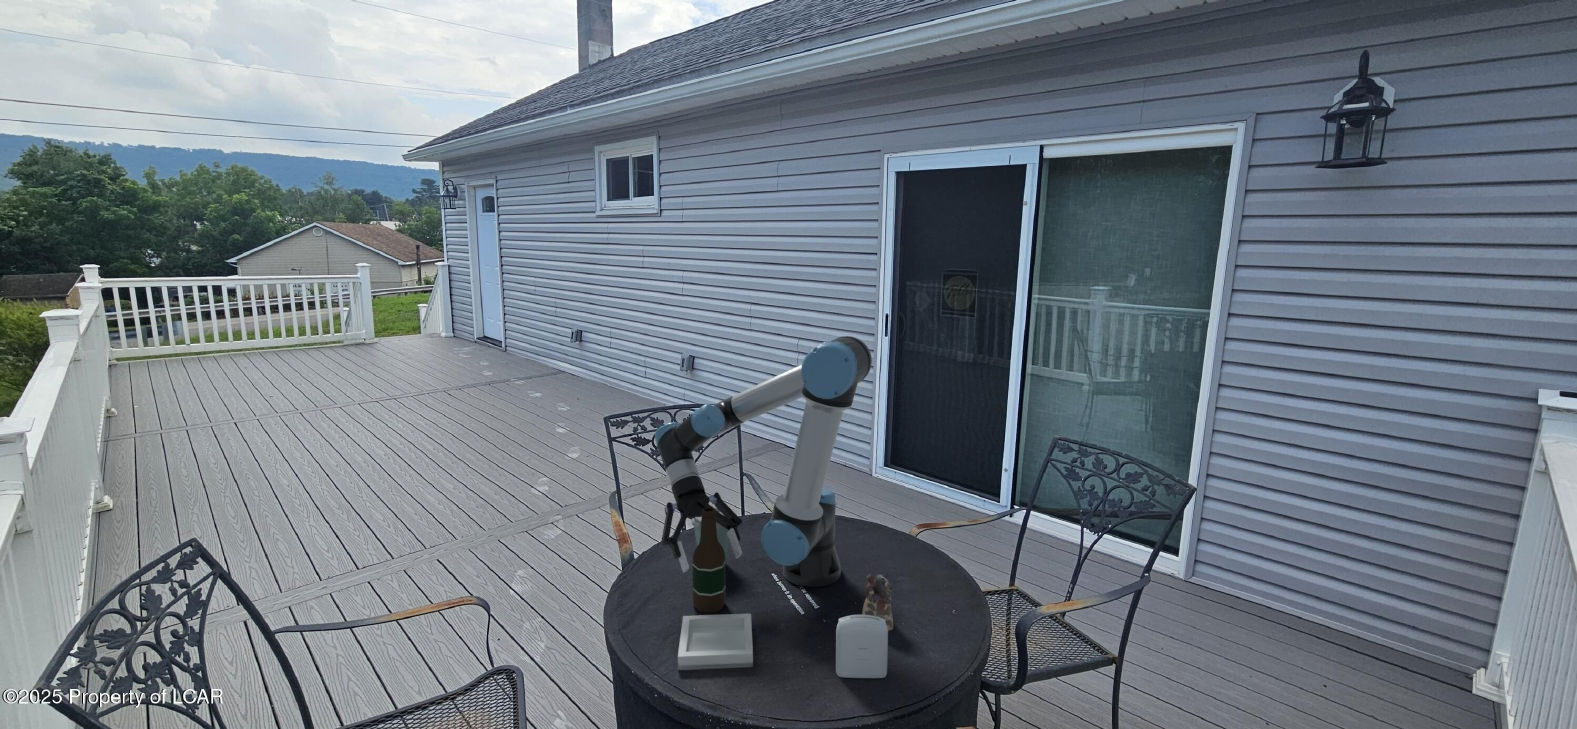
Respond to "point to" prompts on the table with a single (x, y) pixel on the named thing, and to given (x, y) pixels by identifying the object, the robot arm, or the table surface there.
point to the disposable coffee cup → (721, 532)
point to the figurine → (879, 599)
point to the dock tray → (715, 642)
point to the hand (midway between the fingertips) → (713, 563)
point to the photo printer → (861, 647)
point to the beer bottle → (709, 567)
